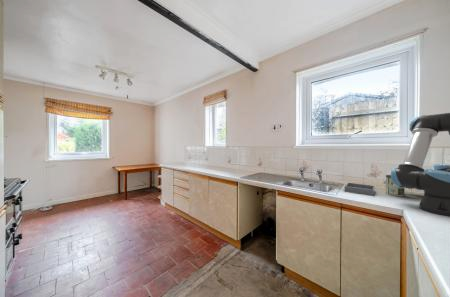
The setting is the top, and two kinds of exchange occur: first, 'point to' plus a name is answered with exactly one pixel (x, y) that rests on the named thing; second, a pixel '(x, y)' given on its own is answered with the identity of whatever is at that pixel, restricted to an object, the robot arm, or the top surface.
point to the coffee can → (393, 188)
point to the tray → (360, 188)
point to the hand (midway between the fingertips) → (388, 183)
